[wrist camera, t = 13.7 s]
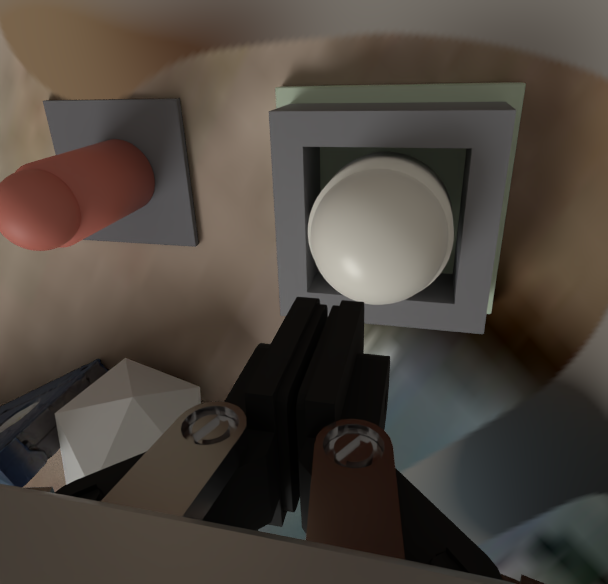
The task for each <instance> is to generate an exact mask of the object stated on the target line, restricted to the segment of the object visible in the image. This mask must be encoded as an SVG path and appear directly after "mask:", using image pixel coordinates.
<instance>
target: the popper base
mask: <svg viewBox="0 0 608 584" xmlns="http://www.w3.org/2000/svg"><path fill="white" fill-rule="evenodd" d="M525 86H526V83H523V82H503V83H446V84H390V85H333V86H281V87H277V88H275V91H276V109H274V110H272V111H269V124H270V141H271V159H272V176H273V193H274V211H275V228H276V246H277V263H278V281H279V298H280V315H281V316H286V315H287V313H288V312H289V310H290V308H291V306H292V304H293V303H294V301H295V299H296V297H308V298H319V300H320V304H325V305H327V308H328V316H329V313H330V311H331V308H332V306H333V305H338V306H340V303H341V301H342V300H347V301H354V300H352V299H349V298H348V297H346V296H344V295H342V294H341V293H339V292H338V291H336V290H335V289H334V288H333V287H332V286H331V285H330V284H329V283H328V282H327V281H326V280H325V279H324V277H323V276H322V274H321V273H320V271H319V269H318V267H317V265H316V263H315V260H314V258H313V256H312V253H311V250H310V246H309V241H308V222H309V216H310V213H311V210H312V207H313V205H314V203H315V201H316V199H317V197H318V196H319V194H320V193H321V191H322V190H323V189H324V187H325V186H326V185H327V184H328V183H329V181H330V180H331V179H332V178H333V177H334V175H335V174H336V173H337V172H338V171H339V170H340V169H341V168H342V167H344V166H345V165H346V164H348V163H349V162H351V161H352V160H354V159H356V158H358V157H360V156H364V155H367V154H370V153H375V152H397V153H402V154H406V155H409V156H411V157H414V158H416V159H418V160H420V161H422V162H423V163H424V164H426V165H427V166H429V167H430V168H431V169H432V170H433V171H434V172H435V173H436V174H437V175H438V176H439V178H440V179H441V180H442V182H443V184H444V185H445V187H446V189H447V191H448V194H449V197H450V200H451V204H452V214H453V226H454V241H453V247H452V251H451V254H450V257H449V260H448V262H447V264H446V266H445V267H444V269H443V270H442V272H441V273H440V275H439V276H438V277H437V278H436V279H435V280H434V281H433V282H432V283H431V284H430V285H429V286H427V287H426V288H425V289H423V290H421V291H420V292H418V293H416V294H415V295H413V296H412V297H409V298H407V299H405V300H403V301H400V302H396V303H392V304H384V305H372V304H365V303H364V323H368V324H379V325H390V326H401V327H412V328H423V329H433V330H444V331H455V332H466V333H477V334H484V327H485V320H486V314H491V310H492V303H493V297H494V290H495V284H496V277H497V270H498V264H499V257H500V251H501V244H502V237H503V231H504V224H505V218H506V211H507V205H508V198H509V191H510V185H511V178H512V172H513V165H514V158H515V152H516V145H517V139H518V132H519V125H520V119H521V112H522V106H523V99H524V92H525Z"/></svg>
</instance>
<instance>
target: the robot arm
mask: <svg viewBox="0 0 608 584" xmlns="http://www.w3.org/2000/svg"><path fill="white" fill-rule="evenodd" d="M363 349H364V302H359V301H347V300H342V301H341V303H340V306H338V305H333V306H332V308H331V311H330V313H329V316H328V308H327V305H325V304H320V300H319V298H308V297H296V299H295V301H294V303H293V304H292V306H291V308H290V310H289V312H288V313H287V315H286V317H285V319H284V321H283V323H282V324H281V326H280V328H279V330H278V332H277V334H276V335H275V337H274V339H273V341H272V343H271V344H264V343H261V344H259V345H258V346H257V347H256V349H255V350H254V352H253V354H252V356H251V357H250V359H249V361H248V362H247V364H246V366H245V367H244V369H243V371H242V373H241V374H240V376H239V378H238V379H237V381H236V383H235V384H234V386H233V388H232V389H231V391H230V393H229V395H228V396H227V398H226V400H225V401H224V402H222V401H213V402H205V403H202V404H198V405H196V406H194V407H192V408H190V409H188V410H186V411H185V412H184V413H183V414H181V415H180V416H179V417H178V418H177V419H176V420H175V421H174V423H173V424H172V425H171V426H170V427H169V428H168V429H167V430H166V431H165V432H164V433H163V434H162V436H161V437H160V438H159V439H158V440H157V441H156V442H155V443H154V444H153V445H152V446H151V447H150V449H149V450H148V451H146V452H144V453H141V454H139V455H136V456H134V457H132V458H129V459H127V460H124V461H122V462H119V463H117V464H114V465H112V466H109V467H107V468H104V469H102V470H99V471H97V472H94V473H92V474H90V475H87V476H85V477H82V478H80V479H77V480H75V481H73V482H71V483H69V484H67V485H65V486H63V487H61V488H60V489H59V490H58V491H56V492H54V489H53V487H30V488H22V487H16V486H11V485H5V484H0V584H545V583H543V582H540V581H537V580H535V579H532V578H530V577H527V576H525V575H522V574H521V578H520V581H518V580H516V579H513V578H511V577H508V576H506V575H503V574H500V572H499V570H498V568H497V567H496V566H495V564H494V563H493V562H492V561H491V559H490V558H489V557H488V556H487V555H486V554H485V553H484V552H483V551H482V550H481V549H480V548H479V547H478V546H477V545H476V544H475V543H474V542H473V541H471V540H470V539H469V538H468V537H467V536H466V535H465V534H464V533H463V532H462V531H461V530H460V529H459V528H458V527H457V526H456V525H455V524H454V523H453V522H452V521H450V520H449V519H448V518H447V517H446V516H445V515H444V514H443V513H442V512H441V511H440V510H439V509H438V508H437V507H436V506H435V505H434V504H433V503H431V502H430V501H429V500H428V499H427V498H426V497H425V496H424V495H423V494H422V493H421V492H420V491H419V490H418V489H417V488H416V487H415V486H414V485H412V483H410V482H409V481H408V480H407V479H406V478H405V477H404V476H403V475H402V474H401V473H400V472H399V471H398V470H397V469H396V468H395V460H394V451H393V445H392V442H391V439H390V437H389V436H388V434H387V433H386V432H385V431H384V428H385V421H386V412H387V402H388V389H389V372H390V356H382V355H372V354H363ZM299 498H300V505H301V518H302V528H303V530H304V531H305V533H306V540H301V539H296V538H291V537H286V536H281V535H276V534H270V533H265V532H260V531H258V529H260V528H262V527H263V526H265V525H267V524H269V525H275V526H280V527H282V525H283V522H284V519H285V516H286V513H287V511H290V512H295V510H296V508H297V505H298V501H299Z"/></svg>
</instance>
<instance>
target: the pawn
mask: <svg viewBox="0 0 608 584" xmlns="http://www.w3.org/2000/svg"><path fill="white" fill-rule="evenodd" d="M154 188H155V179H154V173H153V170H152V167H151V165H150V163H149V161H148V159H147V158H146V157H145V155H144V154H143V153H142V152H141V151H140V150H139V149H138V148H137V147H135V146H134V145H133V144H131V143H129V142H127V141H124V140H119V139H111V140H107V141H103V142H100V143H96V144H93V145H90V146H86V147H83V148H79V149H76V150H72V151H69V152H65V153H62V154H59V155H55V156H52V157H48V158H45V159H41V160H38V161H34V162H31V163H28V164H25V165H23V166H21V167H20V168H19V169H18V170H17V171H16V172H15V173H13V174H11V175H10V176H8V177H6V178H5V179H4V180H3V181H2V182H1V183H0V232H1V233H2V234H3V235H4V236H5V237H6V238H7V239H8V240H9V241H11V242H12V243H14V244H16V245H18V246H20V247H22V248H26V249H29V250H36V251H45V250H51V249H55V248H58V247H68V246H71V245H73V244H75V243H77V242H79V241H81V240H83V239H85V238H87V237H88V236H90V235H92V234H94V233H96V232H98V231H99V230H101V229H103V228H105V227H107V226H109V225H111V224H112V223H114V222H116V221H118V220H120V219H122V218H123V217H125V216H127V215H129V214H131V213H133V212H135V211H136V210H138V209H140V208H142V207H144V206H145V205H146V204H147V203H148V202H149V201H150V199H151V198H152V196H153V193H154Z"/></svg>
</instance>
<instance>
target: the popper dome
mask: <svg viewBox="0 0 608 584" xmlns="http://www.w3.org/2000/svg"><path fill="white" fill-rule="evenodd" d="M308 241H309V246H310V250H311V253H312V256H313V258H314V260H315V263H316V265H317V267H318V269H319V271H320V273H321V274H322V276H323V277H324V279H325V280H326V281H327V282H328V283H329V284H330V285H331V286H332V287H333V288H334V289H335V290H336V291H338V292H339V293H341V294H342V295H344V296H346V297H348V298H349V299H352V300H354V301H359V302H364V303H365V304H372V305H384V304H392V303H396V302H400V301H403V300H405V299H407V298H409V297H412V296H413V295H415V294H416V293H418V292H420V291H421V290H423V289H425V288H426V287H427V286H429V285H430V284H431V283H432V282H433V281H434V280H435V279H436V278H437V277H438V276H439V275H440V273H441V272H442V270H443V269H444V267H445V266H446V264H447V262H448V260H449V257H450V254H451V251H452V247H453V241H454V226H453V214H452V204H451V200H450V197H449V194H448V191H447V189H446V187H445V185H444V184H443V182H442V180H441V179H440V178H439V176H438V175H437V174H436V173H435V172H434V171H433V170H432V169H431V168H430V167H429V166H427V165H426V164H424V163H423V162H422V161H420V160H418V159H416V158H414V157H411V156H409V155H406V154H402V153H397V152H375V153H370V154H367V155H364V156H360V157H358V158H356V159H354V160H352V161H351V162H349V163H348V164H346V165H345V166H344V167H342V168H341V169H340V170H339V171H338V172H337V173H336V174H335V175H334V177H333V178H332V179H331V180H330V181H329V183H328V184H327V185H326V186H325V187H324V189H323V190H322V191H321V193H320V194H319V196H318V197H317V199H316V201H315V203H314V205H313V207H312V210H311V213H310V216H309V222H308Z"/></svg>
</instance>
